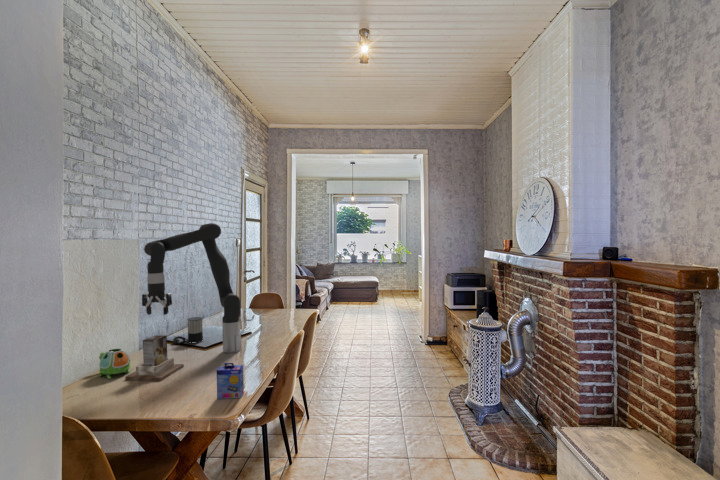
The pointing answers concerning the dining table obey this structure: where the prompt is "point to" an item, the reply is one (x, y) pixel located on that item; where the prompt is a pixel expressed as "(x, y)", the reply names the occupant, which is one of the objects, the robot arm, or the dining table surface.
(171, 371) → the frame
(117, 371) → the turtle holder
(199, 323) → the milk frother
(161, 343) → the coffee box
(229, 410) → the dining table surface
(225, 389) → the ink cartridge box
